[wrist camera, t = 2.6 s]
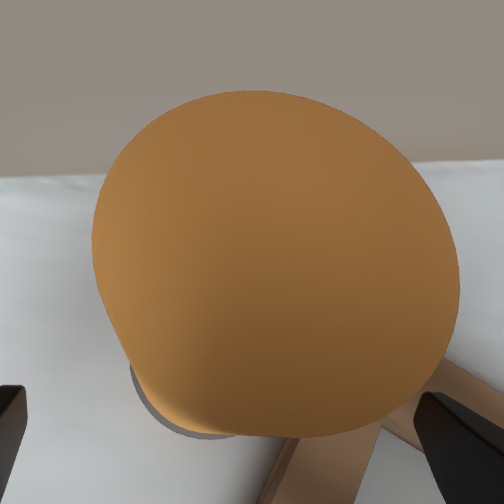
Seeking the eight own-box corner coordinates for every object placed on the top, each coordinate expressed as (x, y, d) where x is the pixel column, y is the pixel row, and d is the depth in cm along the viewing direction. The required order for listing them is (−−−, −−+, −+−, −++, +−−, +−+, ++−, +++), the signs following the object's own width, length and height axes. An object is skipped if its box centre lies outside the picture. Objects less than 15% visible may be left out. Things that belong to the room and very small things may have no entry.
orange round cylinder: (227, 467, 17) (399, 563, 5) (105, 388, 18) (-34, 282, 5) (291, 342, 20) (504, 198, 8) (186, 276, 20) (225, 33, 8)
